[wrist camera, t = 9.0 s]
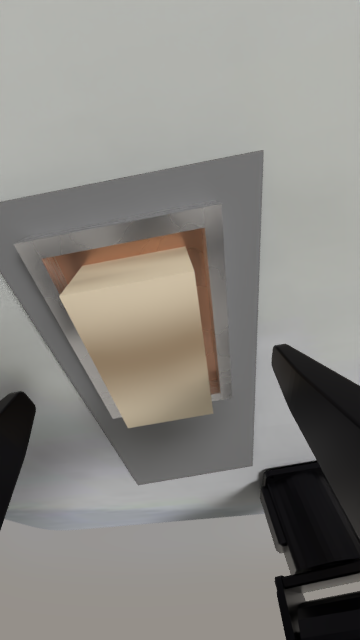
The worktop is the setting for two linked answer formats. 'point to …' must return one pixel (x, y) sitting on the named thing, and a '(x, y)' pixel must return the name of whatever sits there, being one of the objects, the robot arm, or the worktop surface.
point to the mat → (242, 304)
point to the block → (144, 334)
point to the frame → (131, 240)
